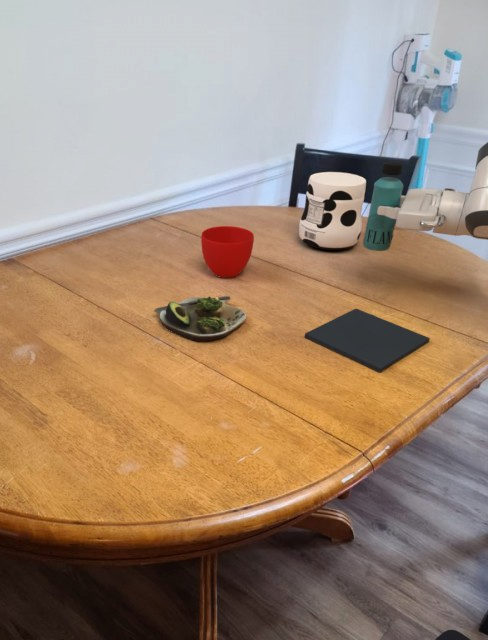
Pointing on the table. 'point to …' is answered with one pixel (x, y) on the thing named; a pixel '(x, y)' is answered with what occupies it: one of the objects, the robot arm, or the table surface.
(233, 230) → the ceramic cup
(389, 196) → the beverage bottle
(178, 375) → the table surface
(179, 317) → the salad plate
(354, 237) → the milk container
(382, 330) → the mat
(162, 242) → the table surface
